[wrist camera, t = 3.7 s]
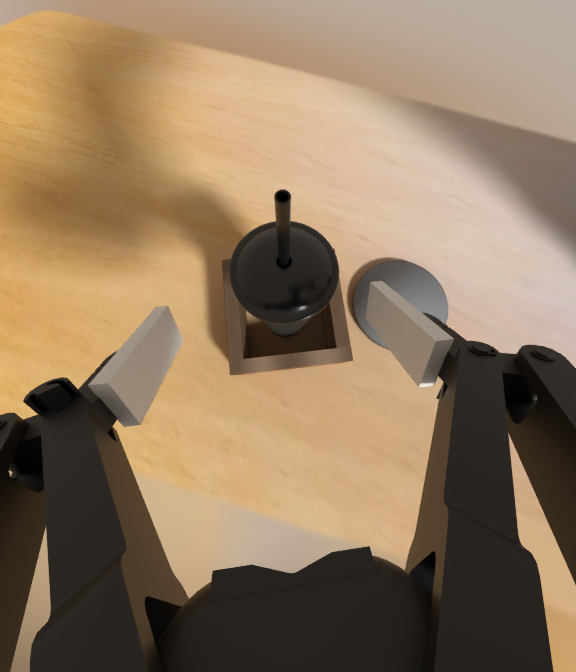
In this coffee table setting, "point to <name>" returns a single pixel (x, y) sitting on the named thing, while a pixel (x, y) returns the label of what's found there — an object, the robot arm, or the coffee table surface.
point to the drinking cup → (284, 271)
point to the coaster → (401, 292)
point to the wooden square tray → (245, 365)
